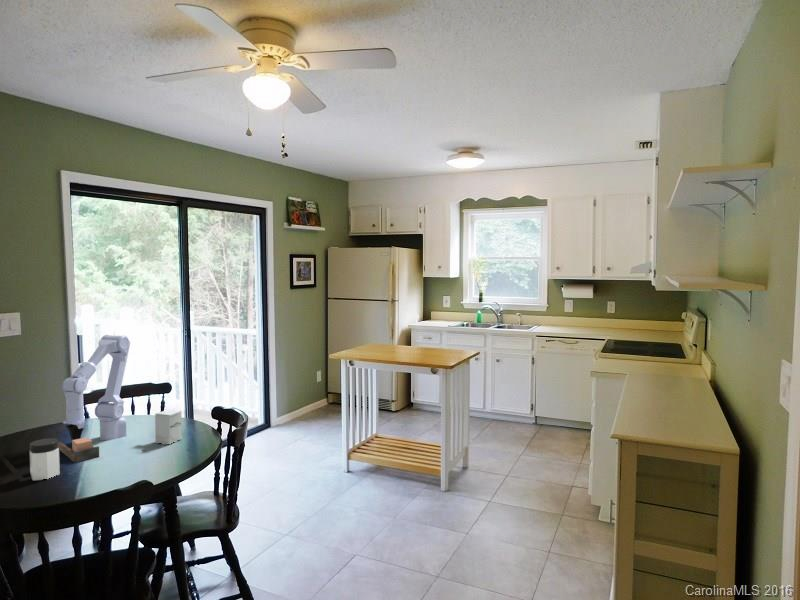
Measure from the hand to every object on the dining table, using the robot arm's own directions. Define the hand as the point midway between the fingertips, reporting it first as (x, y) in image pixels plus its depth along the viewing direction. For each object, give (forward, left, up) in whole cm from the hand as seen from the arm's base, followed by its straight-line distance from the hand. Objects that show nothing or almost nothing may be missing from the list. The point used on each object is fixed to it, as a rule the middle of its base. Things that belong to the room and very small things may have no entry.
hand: (75, 442), depth 200 cm
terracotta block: (0, +8, -3) cm, 8 cm away
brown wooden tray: (0, +2, -4) cm, 5 cm away
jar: (+14, +16, -5) cm, 22 cm away
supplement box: (-31, +11, -5) cm, 33 cm away
